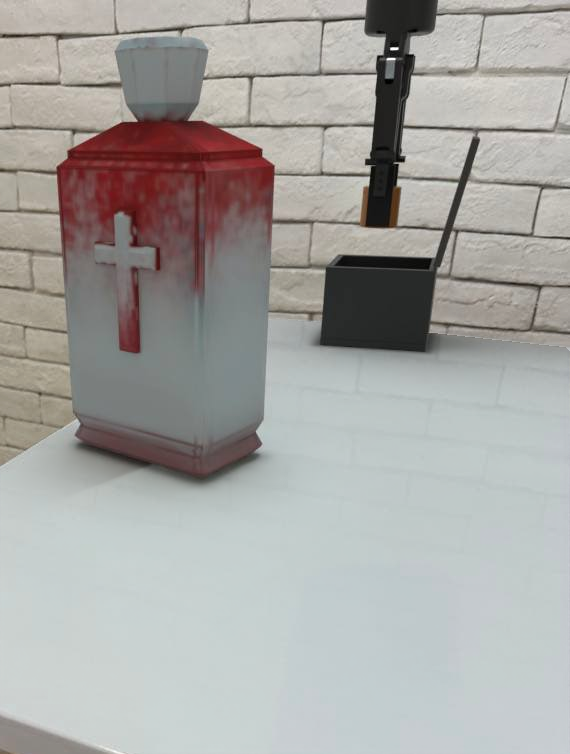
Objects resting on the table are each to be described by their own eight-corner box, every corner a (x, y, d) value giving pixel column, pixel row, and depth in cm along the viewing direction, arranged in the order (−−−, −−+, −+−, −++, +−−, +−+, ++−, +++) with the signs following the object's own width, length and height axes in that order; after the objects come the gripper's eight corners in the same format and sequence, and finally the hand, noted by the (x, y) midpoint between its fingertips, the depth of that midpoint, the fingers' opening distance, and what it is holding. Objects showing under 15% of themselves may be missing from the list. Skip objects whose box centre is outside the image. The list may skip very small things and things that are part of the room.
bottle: (64, 448, 71) (34, 42, 57) (142, 417, 78) (132, 49, 64) (197, 489, 62) (199, 25, 49) (271, 451, 69) (291, 36, 56)
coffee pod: (398, 224, 100) (403, 185, 98) (395, 229, 96) (400, 188, 94) (361, 223, 101) (365, 185, 99) (357, 227, 97) (361, 187, 95)
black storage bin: (319, 344, 102) (325, 266, 98) (332, 326, 111) (338, 254, 106) (425, 351, 98) (435, 271, 94) (429, 332, 107) (439, 257, 103)
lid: (472, 137, 87) (480, 139, 87) (472, 136, 96) (479, 137, 96) (433, 266, 94) (440, 267, 94) (436, 253, 103) (442, 254, 103)
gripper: (375, 3, 96) (356, 215, 107) (357, -17, 82) (337, 231, 92) (442, 0, 94) (415, 217, 105) (436, -22, 79) (406, 233, 90)
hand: (379, 223), depth 98 cm, fingers closed on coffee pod, 4 cm apart
